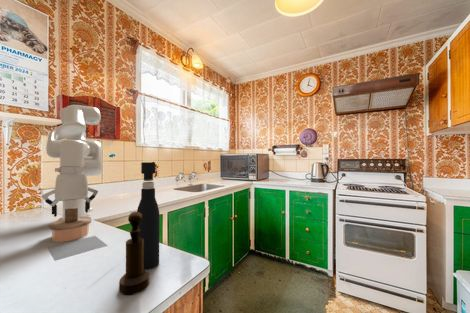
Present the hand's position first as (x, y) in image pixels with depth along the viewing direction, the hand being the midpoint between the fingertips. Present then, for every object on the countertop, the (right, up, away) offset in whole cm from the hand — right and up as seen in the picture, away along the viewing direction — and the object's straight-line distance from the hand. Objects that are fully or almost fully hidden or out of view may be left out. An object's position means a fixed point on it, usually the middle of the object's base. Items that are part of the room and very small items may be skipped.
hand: (71, 213), depth 80 cm
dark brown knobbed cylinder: (+41, -9, -31) cm, 52 cm away
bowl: (0, -9, 0) cm, 9 cm away
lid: (0, -4, 0) cm, 4 cm away
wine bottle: (+40, -9, -21) cm, 46 cm away
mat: (+10, -9, -10) cm, 17 cm away
